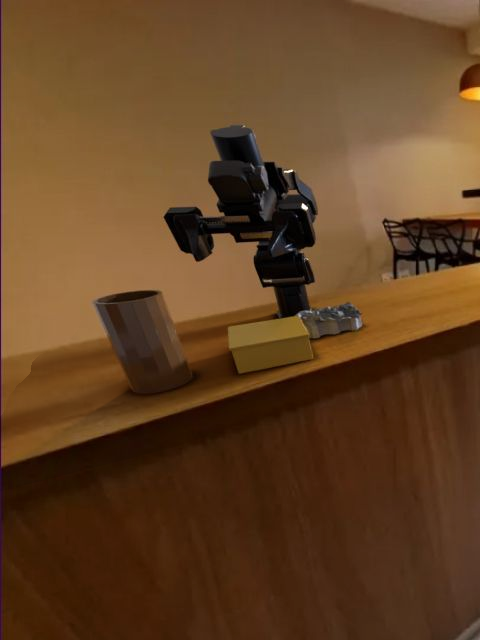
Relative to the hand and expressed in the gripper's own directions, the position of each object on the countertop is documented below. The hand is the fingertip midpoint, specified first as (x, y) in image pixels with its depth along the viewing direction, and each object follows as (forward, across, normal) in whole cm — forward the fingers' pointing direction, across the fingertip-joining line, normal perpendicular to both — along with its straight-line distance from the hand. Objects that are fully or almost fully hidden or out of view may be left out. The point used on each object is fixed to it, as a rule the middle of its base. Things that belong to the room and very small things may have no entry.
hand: (233, 256), depth 60 cm
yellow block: (+3, +1, +15) cm, 16 cm away
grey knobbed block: (-7, +8, +19) cm, 22 cm away
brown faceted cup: (+10, -12, +13) cm, 20 cm away
